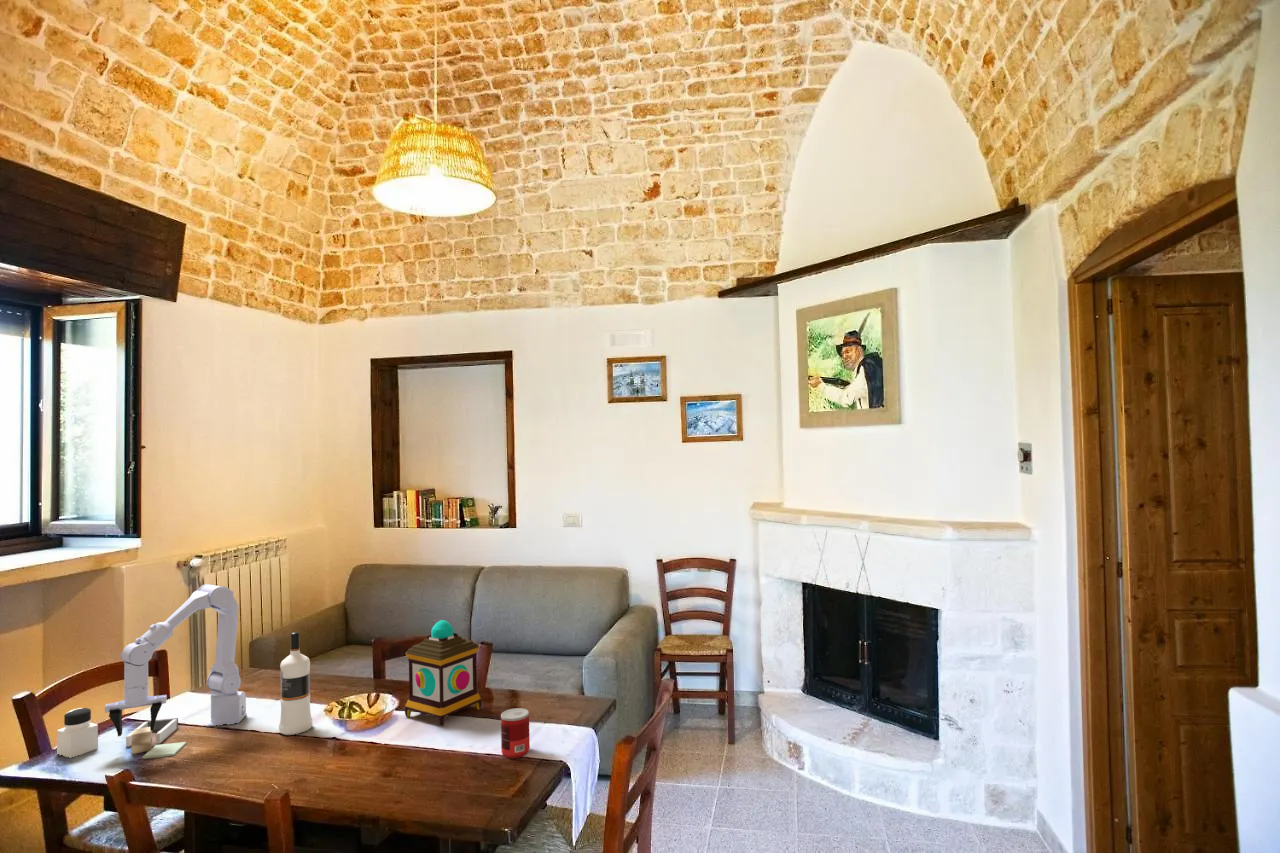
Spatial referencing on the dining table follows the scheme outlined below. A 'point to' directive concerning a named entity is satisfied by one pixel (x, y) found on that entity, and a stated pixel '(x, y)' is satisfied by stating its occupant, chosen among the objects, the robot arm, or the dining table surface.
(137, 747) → the beech block
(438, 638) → the decorative lantern
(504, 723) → the canned food
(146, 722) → the channel
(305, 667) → the vodka
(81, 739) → the medicine bottle
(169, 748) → the tile
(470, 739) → the dining table surface
